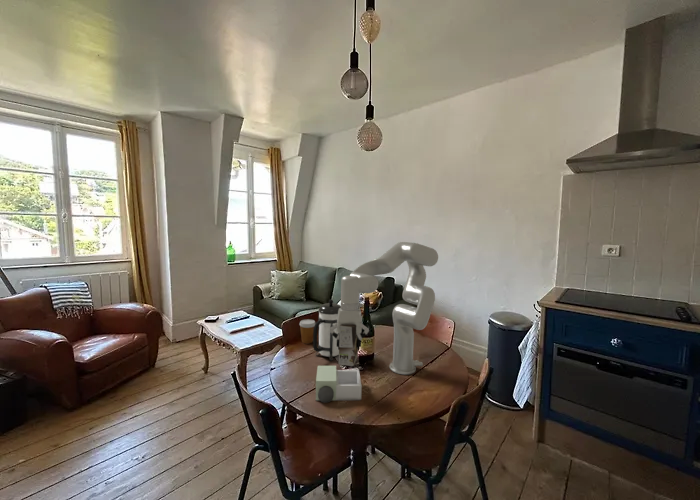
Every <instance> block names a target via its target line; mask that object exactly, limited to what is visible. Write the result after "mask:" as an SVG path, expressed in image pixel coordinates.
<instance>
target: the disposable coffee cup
mask: <svg viewBox="0 0 700 500" xmlns="http://www.w3.org/2000/svg"><path fill="white" fill-rule="evenodd" d="M315 324H316V321H315V320H314V319H309V318H308V319H302V320H300V321H299V324H298V325H299V326H300V335H301V342H302V344H313V330H314V326H315Z"/></svg>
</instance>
